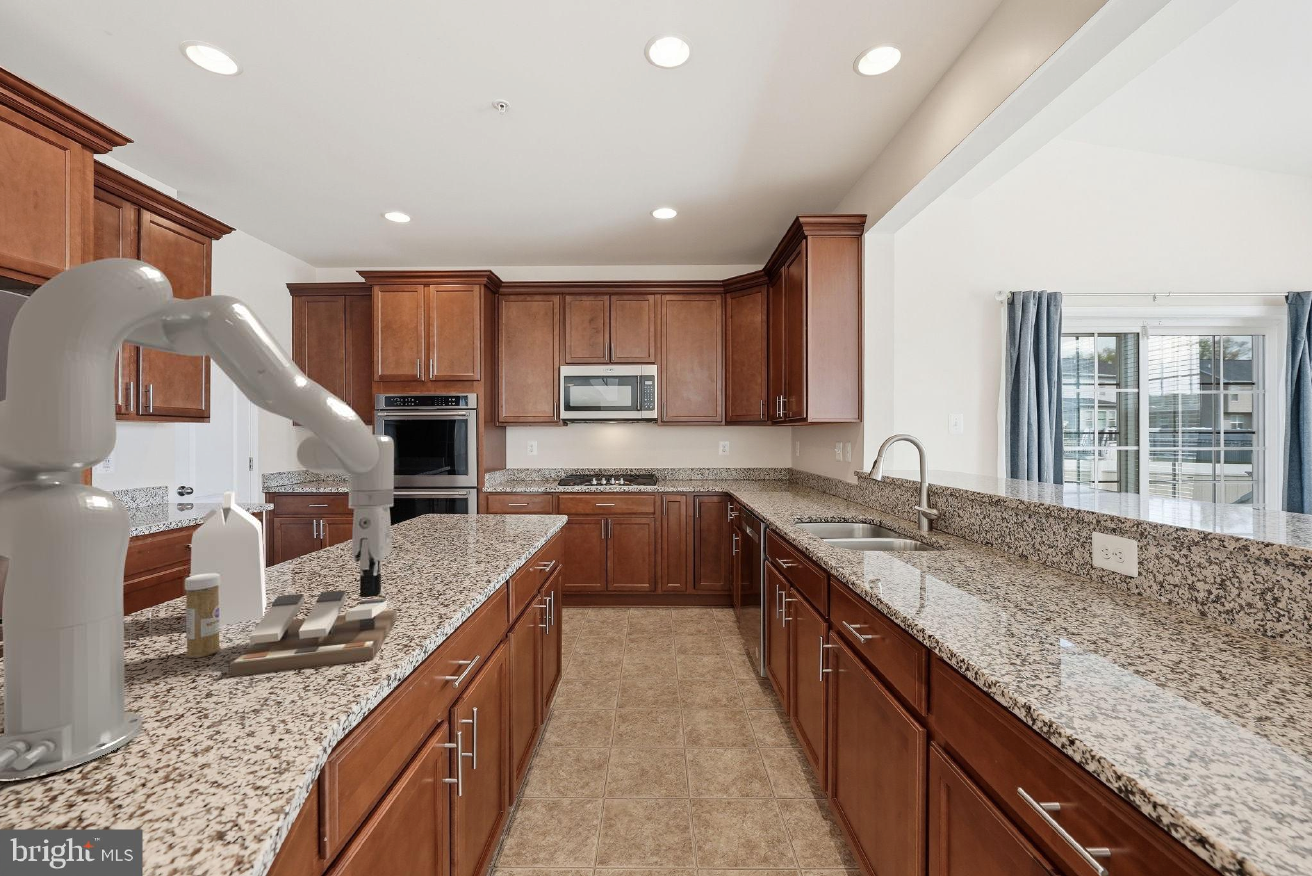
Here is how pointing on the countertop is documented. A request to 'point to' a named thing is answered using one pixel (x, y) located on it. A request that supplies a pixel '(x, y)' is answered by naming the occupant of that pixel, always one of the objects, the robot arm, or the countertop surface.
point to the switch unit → (318, 646)
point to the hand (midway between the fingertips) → (370, 595)
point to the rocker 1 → (277, 619)
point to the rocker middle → (323, 614)
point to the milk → (232, 560)
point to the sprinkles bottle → (202, 615)
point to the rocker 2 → (367, 609)
